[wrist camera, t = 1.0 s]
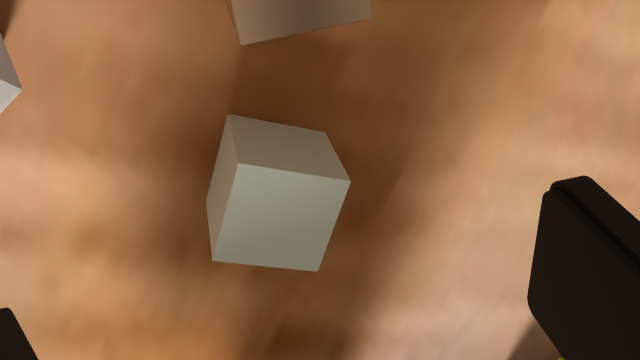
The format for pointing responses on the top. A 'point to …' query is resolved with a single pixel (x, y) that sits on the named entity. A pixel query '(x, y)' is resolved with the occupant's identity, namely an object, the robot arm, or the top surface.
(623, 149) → the top surface
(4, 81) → the die
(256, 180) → the sage cube
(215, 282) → the top surface
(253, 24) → the walnut cube
